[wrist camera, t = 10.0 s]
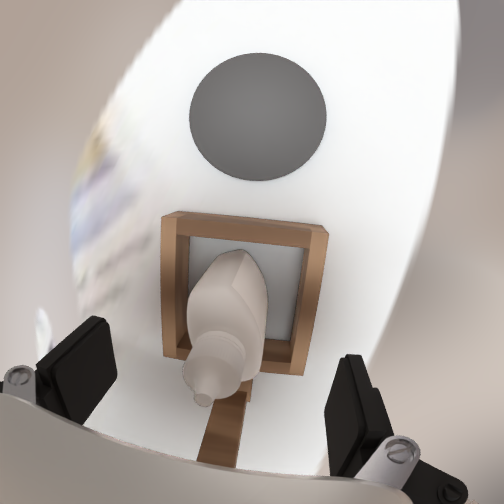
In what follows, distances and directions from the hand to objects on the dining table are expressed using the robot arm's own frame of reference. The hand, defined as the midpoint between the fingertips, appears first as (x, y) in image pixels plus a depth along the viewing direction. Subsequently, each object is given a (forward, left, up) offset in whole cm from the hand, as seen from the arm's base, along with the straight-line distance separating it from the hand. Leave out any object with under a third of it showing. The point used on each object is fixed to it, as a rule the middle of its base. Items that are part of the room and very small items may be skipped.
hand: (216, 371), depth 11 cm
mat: (+11, 0, -11) cm, 16 cm away
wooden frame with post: (-4, 0, -11) cm, 11 cm away
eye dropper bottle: (-1, 0, -11) cm, 11 cm away
